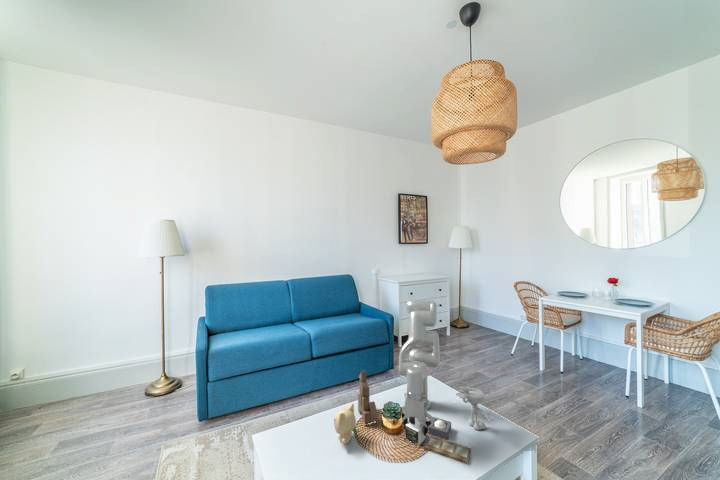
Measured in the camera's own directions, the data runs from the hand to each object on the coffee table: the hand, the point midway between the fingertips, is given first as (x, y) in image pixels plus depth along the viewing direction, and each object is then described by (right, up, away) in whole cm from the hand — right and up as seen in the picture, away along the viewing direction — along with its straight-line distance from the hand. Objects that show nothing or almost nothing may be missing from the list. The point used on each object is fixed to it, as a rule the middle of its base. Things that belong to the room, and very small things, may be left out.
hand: (415, 430), depth 133 cm
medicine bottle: (0, -4, 0) cm, 4 cm away
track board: (+13, -4, -7) cm, 15 cm away
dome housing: (+13, -4, +5) cm, 15 cm away
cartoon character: (+31, -4, +8) cm, 32 cm away
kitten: (-33, -5, +2) cm, 34 cm away
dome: (+13, -4, +5) cm, 15 cm away
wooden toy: (-23, -5, +19) cm, 30 cm away
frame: (0, -4, 0) cm, 4 cm away
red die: (+9, -4, +10) cm, 14 cm away
